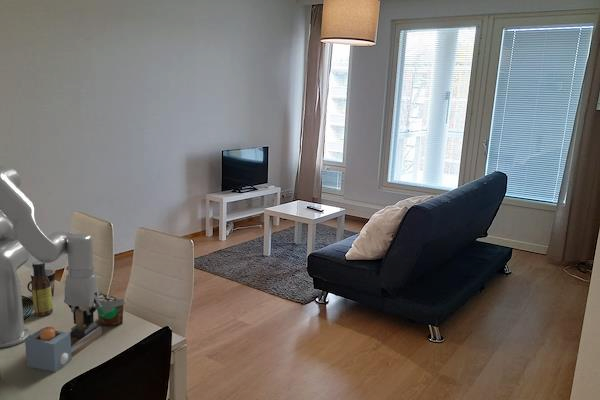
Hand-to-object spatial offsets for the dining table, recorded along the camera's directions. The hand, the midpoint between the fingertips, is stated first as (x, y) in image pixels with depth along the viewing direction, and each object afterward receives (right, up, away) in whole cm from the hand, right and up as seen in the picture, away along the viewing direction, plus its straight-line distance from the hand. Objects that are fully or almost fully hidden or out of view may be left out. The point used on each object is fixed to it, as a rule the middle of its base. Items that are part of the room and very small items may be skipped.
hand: (83, 322), depth 161 cm
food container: (+3, -4, +12) cm, 13 cm away
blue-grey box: (-4, -9, -14) cm, 17 cm away
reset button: (-4, -2, -15) cm, 16 cm away
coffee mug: (-31, +2, +31) cm, 43 cm away
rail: (-1, -7, -3) cm, 7 cm away
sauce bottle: (-23, -1, +18) cm, 29 cm away
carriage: (0, -4, +1) cm, 4 cm away
